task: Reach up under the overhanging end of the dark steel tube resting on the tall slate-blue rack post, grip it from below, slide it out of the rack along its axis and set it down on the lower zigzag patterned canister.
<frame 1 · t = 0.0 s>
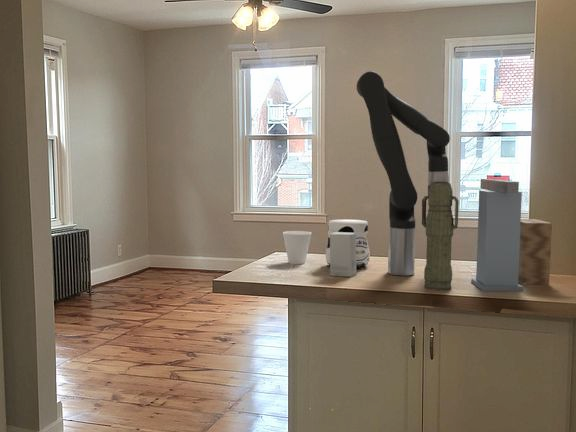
hand: (438, 227, 223), 17 cm above the worktop, tool pointing down, fingers open, 8 cm apart
cup: (296, 263, 248), on the worktop
skincare box: (342, 275, 222), on the worktop
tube: (498, 190, 202), point 32 cm above the worktop, touching rack post
thermos: (437, 287, 202), on the worktop
rack post: (496, 286, 203), on the worktop
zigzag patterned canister: (528, 280, 214), on the worktop
milk container: (347, 267, 240), on the worktop
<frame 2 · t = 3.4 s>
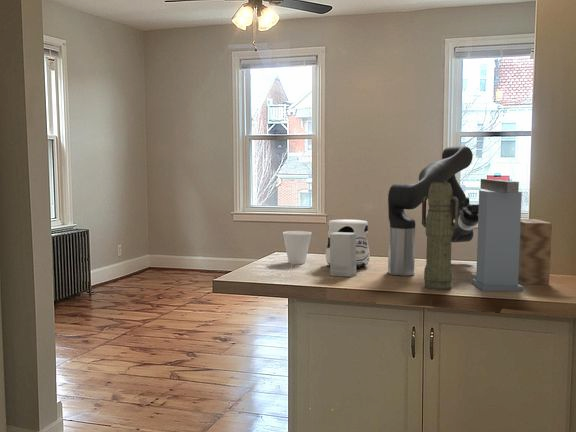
hand: (480, 199, 222), 28 cm above the worktop, tool pointing upward, fingers open, 8 cm apart
nothing on the worktop moved.
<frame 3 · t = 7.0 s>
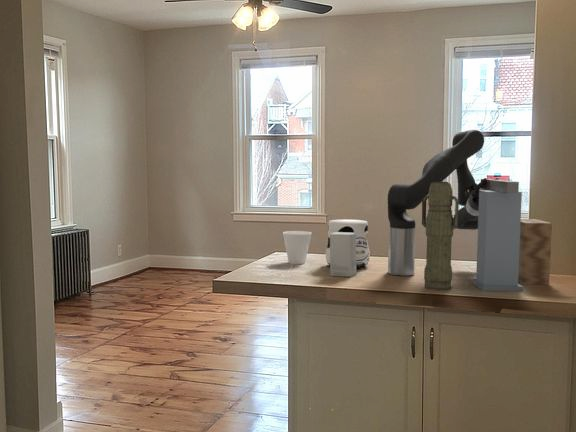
hand: (491, 180, 208), 35 cm above the worktop, tool pointing upward, fingers closed on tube, 3 cm apart
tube: (498, 190, 202), point 32 cm above the worktop, touching gripper, rack post
everything else where it was.
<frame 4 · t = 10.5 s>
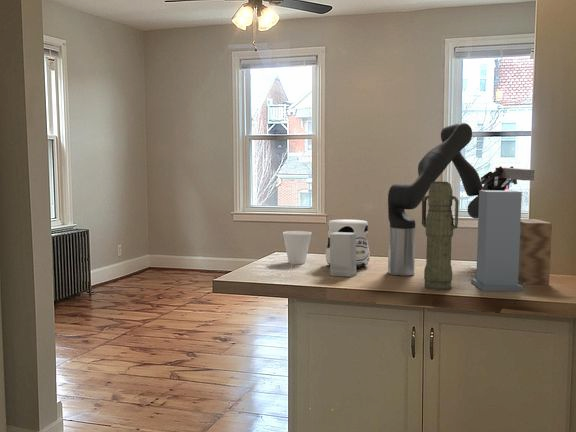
hand: (506, 168, 218), 39 cm above the worktop, tool pointing upward, fingers closed on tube, 3 cm apart
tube: (513, 178, 211), point 36 cm above the worktop, touching gripper
everything else where it was.
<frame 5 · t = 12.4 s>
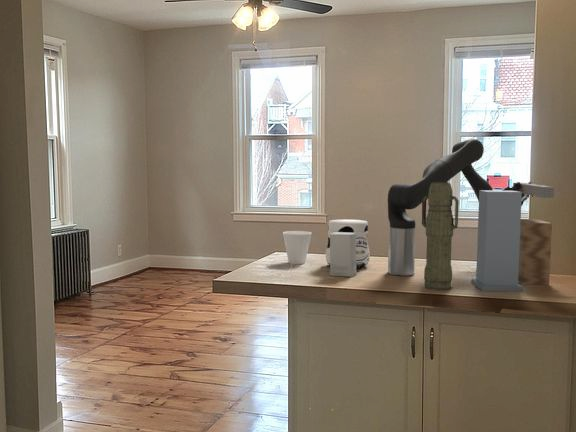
hand: (524, 184, 218), 34 cm above the worktop, tool pointing upward, fingers closed on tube, 3 cm apart
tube: (531, 194, 212), point 30 cm above the worktop, touching gripper
everything else where it was.
when the fingers open (26 cm above the worktop, at t = 14.1 s): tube drops 1 cm, resting on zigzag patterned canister.
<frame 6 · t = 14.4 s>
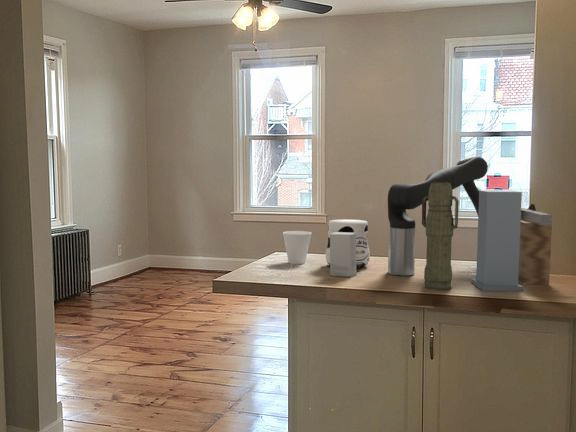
hand: (523, 206, 219), 26 cm above the worktop, tool pointing upward, fingers open, 6 cm apart
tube: (530, 221, 212), point 21 cm above the worktop, touching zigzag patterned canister
everything else where it was.
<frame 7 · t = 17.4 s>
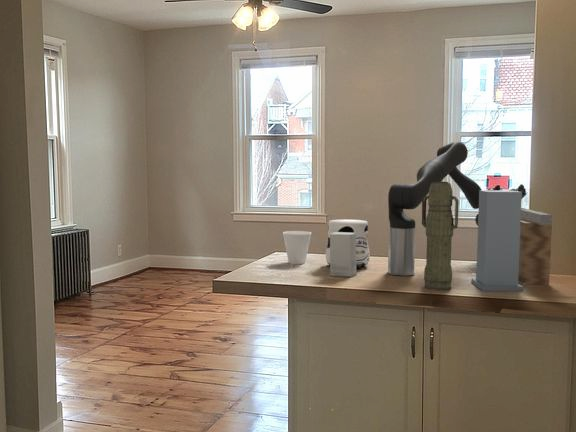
hand: (510, 186, 226), 32 cm above the worktop, tool pointing upward, fingers open, 8 cm apart
nothing on the worktop moved.
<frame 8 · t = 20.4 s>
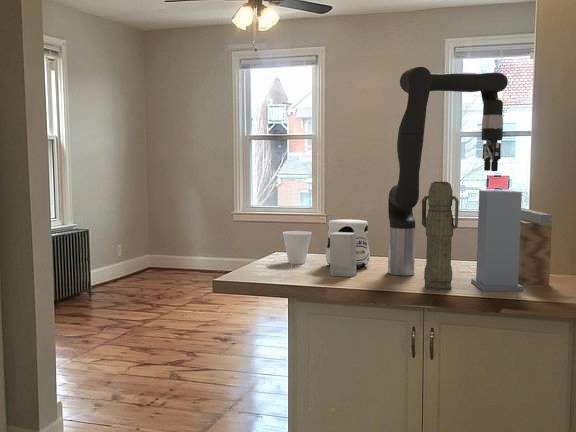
hand: (490, 171, 229), 38 cm above the worktop, tool pointing down, fingers open, 8 cm apart
nothing on the worktop moved.
at the end: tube inside the target area on the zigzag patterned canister (0.1 cm from its centre), point 21.0 cm above the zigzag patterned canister's base; the gripper is holding nothing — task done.
